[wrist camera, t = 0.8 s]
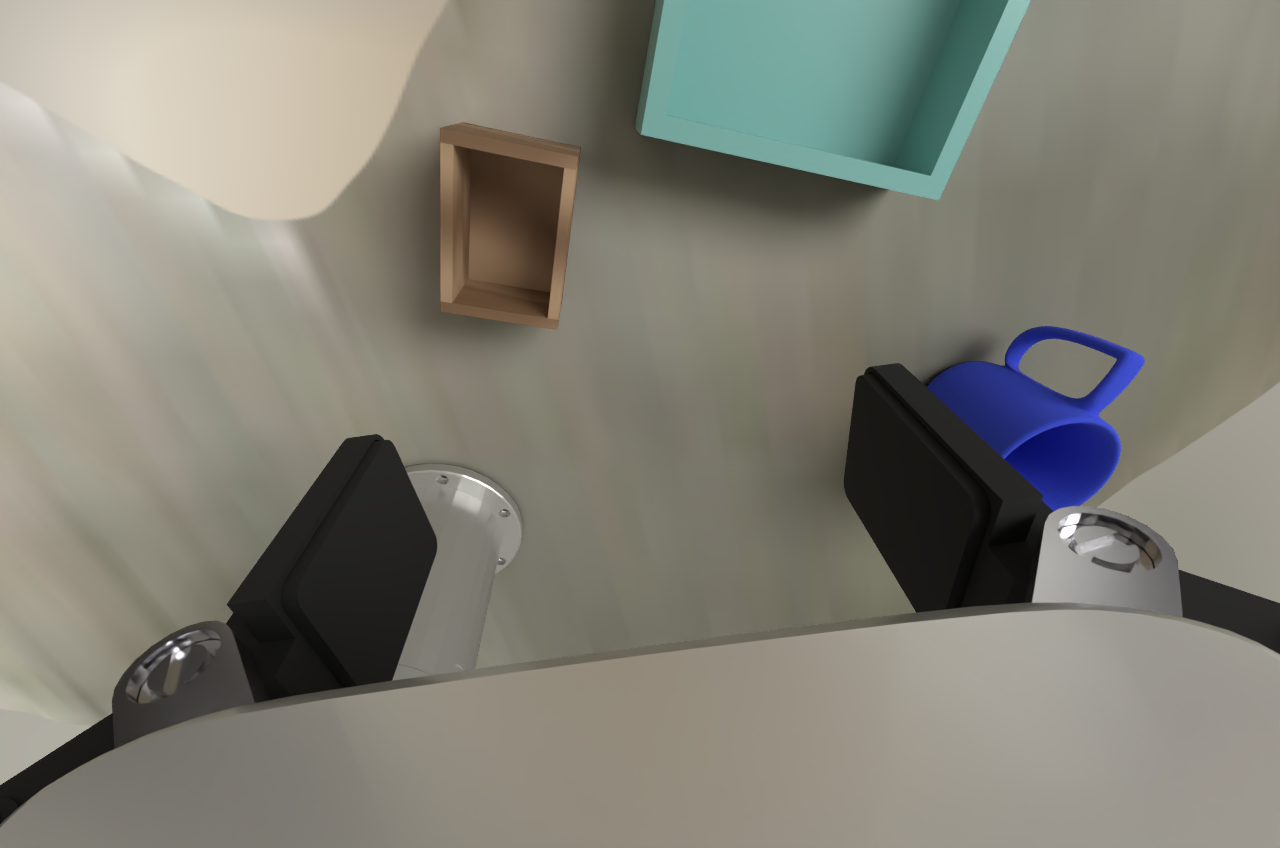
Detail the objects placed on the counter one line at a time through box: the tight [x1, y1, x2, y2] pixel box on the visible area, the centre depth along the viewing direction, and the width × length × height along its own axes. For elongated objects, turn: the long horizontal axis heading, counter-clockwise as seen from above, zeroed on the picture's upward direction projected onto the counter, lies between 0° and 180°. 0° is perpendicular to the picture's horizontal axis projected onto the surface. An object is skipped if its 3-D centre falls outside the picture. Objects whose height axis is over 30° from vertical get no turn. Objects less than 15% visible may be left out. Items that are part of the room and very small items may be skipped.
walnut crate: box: [440, 123, 581, 330], centre depth 29 cm, size 9×6×5 cm
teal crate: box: [635, 0, 1031, 200], centre depth 25 cm, size 14×16×5 cm
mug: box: [927, 326, 1145, 511], centre depth 35 cm, size 8×12×10 cm
